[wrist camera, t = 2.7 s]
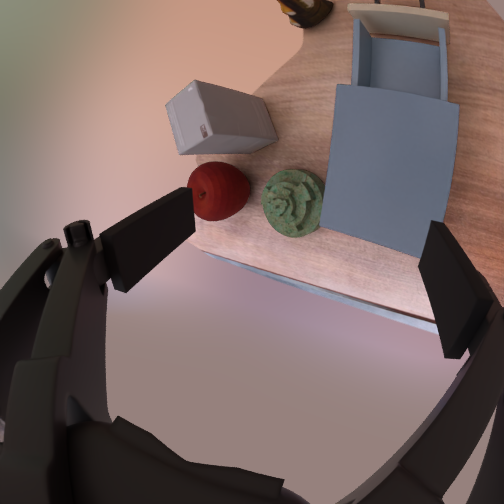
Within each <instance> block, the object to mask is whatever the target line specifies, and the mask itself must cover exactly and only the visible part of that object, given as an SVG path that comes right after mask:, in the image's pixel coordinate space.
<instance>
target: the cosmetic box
mask: <svg viewBox="0 0 504 504" xmlns="http://www.w3.org/2000/svg"><path fill="white" fill-rule="evenodd" d="M165 106H166V109H167V113H168V117H169V120H170V124H171V127H172V131H173V135H174V139H175V142H176V146H177V149H178V153H179V155H194V154H251V153H253V152H255V151H257V150H259V149H261V148H263V147H265V146H267V145H270V144H272V143H274V142H276V141H278V137H277V135H276V132H275V129H274V127H273V124H272V122H271V119H270V116H269V114H268V111H267V109H266V106H265V104H264V101H263V99H262V98H259V97H256V96H253V95H249V94H246V93H243V92H239V91H236V90H232V89H229V88H225V87H221V86H217V85H214V84H210V83H205V82H201V81H197V80H194V81H192V82H191V83H190V84H189V85H188V86H186V87H185V88H184V89H183V90H182V91H180V92H179V93H178V94H177V95H176V96H174V97H173V98H172V99H171V100H170V101H169V102H168V103H167V104H166V105H165Z"/></svg>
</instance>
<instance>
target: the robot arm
mask: <svg viewBox="0 0 504 504" xmlns="http://www.w3.org/2000/svg"><path fill="white" fill-rule="evenodd" d="M63 230H64V234H65V237H66V241H67V244H68V247H67V248H62V246H61V243H60V239H57V238H53V239H51V238H50V239H47V240H45V241H44V242H43V243H41V244H40V245H39V246H38V247H37V248H36V249H35V250H34V251H33V252H32V253H31V254H30V256H29V257H28V258H27V259H26V260H25V261H24V262H23V263H22V264H21V266H20V267H19V268H18V269H17V270H16V271H15V273H14V274H13V275H12V276H11V278H10V279H9V280H8V281H7V282H6V284H5V285H4V286H3V288H2V289H1V290H0V504H310V503H309V502H307V501H306V500H305V499H303V498H302V497H301V496H299V495H297V494H295V493H294V492H292V491H290V490H288V489H286V488H284V487H282V486H283V483H284V479H280V478H276V477H271V476H267V475H263V474H258V473H255V472H251V471H247V470H244V469H241V468H237V467H236V468H235V467H225V466H216V465H208V464H200V463H194V462H189V461H186V460H184V459H183V458H181V457H180V456H179V455H177V454H176V453H175V452H173V451H172V450H171V449H169V448H168V447H167V446H166V445H165V444H163V443H162V442H161V441H160V440H158V439H157V438H156V437H155V436H154V435H153V434H151V433H149V432H148V431H146V430H144V429H142V428H140V427H138V426H136V425H134V424H132V423H130V422H129V421H127V420H125V419H123V418H122V417H120V416H117V418H116V419H115V420H114V422H113V423H112V420H111V418H110V416H109V413H108V407H107V393H106V368H105V337H106V311H107V296H108V287H107V284H106V282H107V281H108V280H109V279H110V278H111V280H112V283H113V286H114V289H115V290H118V291H121V292H124V293H127V292H128V291H129V290H130V289H131V288H132V287H133V286H134V285H135V284H136V283H138V282H139V281H140V280H141V279H142V278H143V277H144V276H145V275H146V274H148V273H149V272H150V271H151V270H152V269H153V268H154V267H155V266H156V265H158V264H159V263H160V262H161V261H162V260H163V259H164V258H165V257H167V256H168V255H169V254H170V253H171V252H172V251H173V250H175V249H176V248H177V247H178V246H179V245H180V244H181V243H183V242H184V241H185V240H186V239H187V238H189V237H190V236H191V235H192V234H193V233H194V232H196V229H195V217H194V205H193V191H192V188H188V187H181V188H178V189H177V190H175V191H173V192H171V193H169V194H167V195H166V196H163V197H161V198H160V199H158V200H156V201H154V202H153V203H151V204H149V205H147V206H145V207H144V208H142V209H140V210H138V211H137V212H135V213H133V214H131V215H130V216H128V217H126V218H125V219H123V220H121V221H120V222H118V223H116V224H115V225H113V226H111V227H110V228H108V229H107V230H105V231H103V232H102V233H100V234H99V235H100V236H99V237H98V238H96V239H95V240H94V238H93V234H92V230H91V226H90V221H88V220H79V221H76V222H73V223H70V224H69V225H67V226H65V228H64V229H63ZM418 268H419V271H420V273H421V276H422V279H423V282H424V285H425V288H426V291H427V294H428V297H429V300H430V304H431V307H432V310H433V314H434V317H435V321H436V325H437V328H438V332H439V336H440V340H441V344H442V349H443V353H444V358H449V359H461V357H462V356H463V354H464V352H465V351H466V349H467V348H468V350H469V353H470V356H469V358H468V360H467V361H466V362H465V364H464V365H463V367H462V368H461V369H460V371H459V372H458V373H457V377H456V378H455V380H454V381H453V383H452V384H451V386H450V387H449V389H448V390H447V391H446V393H445V394H444V396H443V397H442V398H441V400H440V401H439V403H438V404H437V405H436V407H435V408H434V409H433V410H432V412H431V413H430V414H429V416H428V417H427V418H426V419H425V421H424V422H423V423H422V424H421V425H420V427H419V428H418V429H417V430H416V431H415V432H414V434H413V435H412V436H411V437H410V438H409V439H408V440H407V441H406V443H405V444H404V445H403V446H402V447H401V448H400V449H399V450H398V451H397V452H396V453H395V454H394V455H393V456H392V457H391V458H390V459H389V460H388V461H387V462H386V463H385V464H384V465H383V466H382V467H381V468H380V469H379V470H378V471H376V472H375V473H374V474H373V475H372V476H371V477H370V478H369V479H367V480H366V481H365V482H364V483H363V484H362V485H360V486H359V487H358V488H357V489H355V490H354V491H353V492H352V493H350V494H349V495H347V496H346V497H345V498H343V499H342V500H340V501H339V502H337V503H336V504H444V502H443V500H442V498H443V495H444V494H445V492H446V491H447V489H448V488H449V487H450V485H451V484H452V483H453V481H454V480H455V478H456V477H457V475H458V474H459V473H460V471H461V470H462V468H463V467H464V465H465V464H466V462H467V460H468V459H469V457H470V455H471V454H472V452H473V450H474V449H475V447H476V445H477V444H478V442H479V440H480V438H481V436H482V434H483V433H484V431H485V429H486V427H487V425H488V423H489V421H490V419H491V416H492V414H493V412H494V410H495V408H496V406H497V409H496V414H495V419H494V423H493V428H492V432H491V435H490V439H489V443H488V446H487V450H486V453H485V456H484V459H483V462H482V465H481V468H480V471H479V474H478V476H477V479H476V482H475V484H474V487H473V489H472V491H471V494H470V496H469V499H468V501H467V503H466V504H504V307H502V306H501V304H500V303H499V301H498V299H497V297H496V295H495V294H494V292H493V290H492V288H491V287H490V286H489V283H488V282H487V280H486V278H485V277H484V276H483V275H482V274H481V273H480V272H479V271H477V270H476V269H475V267H474V266H473V264H472V263H471V261H470V259H469V258H468V256H467V255H466V253H465V252H464V250H463V249H462V248H461V246H460V245H459V243H458V242H457V240H456V239H455V238H454V236H453V235H452V233H451V232H450V231H449V229H448V228H447V227H446V225H445V224H444V223H443V222H438V221H434V220H431V223H430V227H429V230H428V234H427V238H426V242H425V245H424V249H423V252H422V255H421V259H420V262H419V265H418ZM45 273H46V276H47V278H48V281H49V283H50V286H49V288H47V286H46V284H45V281H44V276H45Z"/></svg>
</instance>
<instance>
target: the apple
mask: <svg viewBox="0 0 504 504" xmlns="http://www.w3.org/2000/svg"><path fill="white" fill-rule="evenodd" d="M187 187H188V188H192V191H193V205H194V213H195V214H196V215H197V216H198V217H200V218H201V219H204V220H207V221H219V220H223V219H226V218H228V217H231V216H232V215H234V214H236V213H237V212H238V211H239V210H241V209H242V208H243V207H244V205H245V204H246V203H247V201H248V198H249V195H250V185H249V182H248V180H247V178H246V176H245V175H244V174H243V173H242V172H241V171H240V170H239V169H237V168H236V167H235V166H232V165H230V164H227V163H224V162H207V163H204V164H202V165H200V166H199V167H197V168H196V169H195V170H194V171H193V172H192V174H191V175H190V177H189V180H188V184H187Z"/></svg>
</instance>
